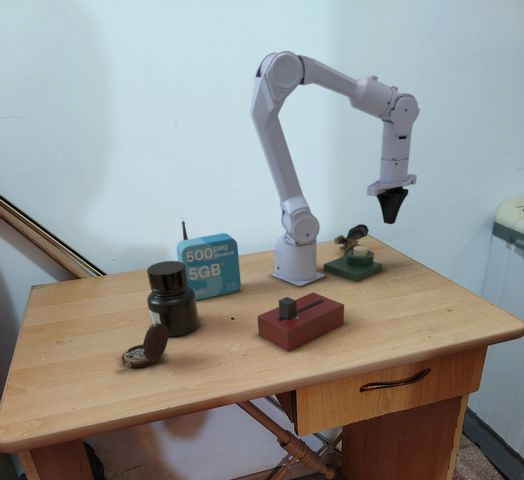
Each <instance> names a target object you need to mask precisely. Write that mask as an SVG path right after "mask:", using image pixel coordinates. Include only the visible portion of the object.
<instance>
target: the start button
mask: <svg viewBox="0 0 524 480" xmlns="http://www.w3.org/2000/svg"><path fill="white" fill-rule="evenodd" d="M353 250H354V251H353V255H354V256H358V257H363V256H367V253H368V250H369V248H368V247H367V246H364V245H360V246H356V247H354V249H353Z"/></svg>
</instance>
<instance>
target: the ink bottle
mask: <svg viewBox="0 0 524 480" xmlns="http://www.w3.org/2000/svg"><path fill="white" fill-rule="evenodd" d="M146 273H147V278H148V284H149V286H150V290H151V292H150V293H149V294H148V296H147V298H146V301H147V302H146V303H147V308H148V314H149V318H150V324H151V325H152V324H156V323H160V324H163V325H165V326H166V328H167V331H168V337H177V336H178V337H179V336H183V335H187V334H190V333H192V332H193V331H195V330H196V329H197V327H198V326H199V322H200V319H199V312H198V305H197V300H196V297H195V293H194V291H193V290H192V289H191V288H190V287H188V286H187V284H188V282H187V274H186V267H185V264H184V263H182V262H179V261H178V260H167V261H166V260H165V261H164V260H163V261H160V262H156V263H154V264H151V265H150V266H148V267H147V269H146Z"/></svg>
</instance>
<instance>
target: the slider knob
mask: <svg viewBox="0 0 524 480" xmlns="http://www.w3.org/2000/svg"><path fill="white" fill-rule="evenodd" d="M278 307H279V316H281V317H284V318H286V319H288V320H289V319H291V318H293V317H296V316H297V307H296V299H293V298H291V297H289V296H286V297H283V298H280V299H278Z"/></svg>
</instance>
